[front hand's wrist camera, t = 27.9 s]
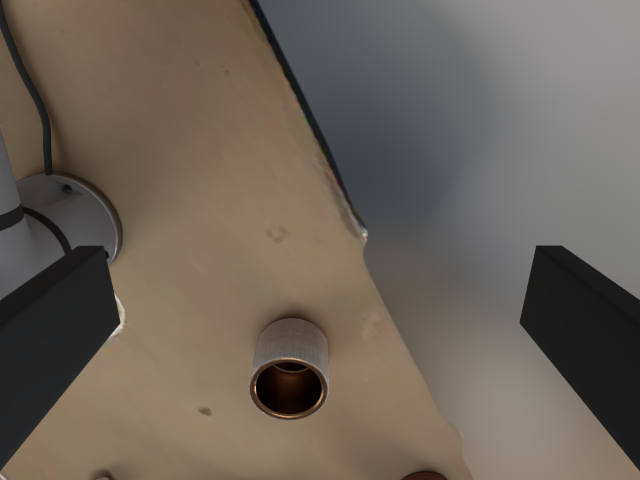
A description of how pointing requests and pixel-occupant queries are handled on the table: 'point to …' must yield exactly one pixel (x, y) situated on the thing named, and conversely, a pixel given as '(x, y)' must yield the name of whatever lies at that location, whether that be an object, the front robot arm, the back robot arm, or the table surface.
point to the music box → (425, 476)
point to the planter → (290, 370)
